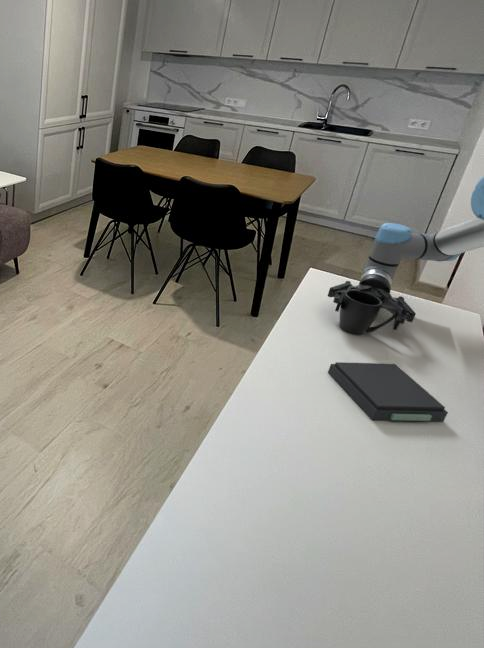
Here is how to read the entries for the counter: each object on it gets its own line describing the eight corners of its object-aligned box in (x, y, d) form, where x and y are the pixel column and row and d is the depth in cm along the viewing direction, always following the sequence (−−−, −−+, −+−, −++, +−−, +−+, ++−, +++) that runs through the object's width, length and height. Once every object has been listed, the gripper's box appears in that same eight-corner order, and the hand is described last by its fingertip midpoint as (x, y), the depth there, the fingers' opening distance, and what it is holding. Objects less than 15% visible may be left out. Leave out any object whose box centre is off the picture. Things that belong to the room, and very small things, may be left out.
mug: (387, 347, 123) (401, 314, 119) (332, 330, 129) (344, 298, 125) (386, 332, 129) (399, 301, 126) (334, 317, 135) (345, 286, 131)
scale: (445, 423, 99) (451, 410, 97) (373, 422, 98) (379, 409, 96) (390, 374, 113) (395, 362, 111) (327, 372, 112) (332, 360, 110)
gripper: (421, 313, 135) (419, 347, 119) (323, 283, 148) (309, 311, 132) (432, 289, 132) (431, 320, 116) (331, 261, 145) (317, 286, 129)
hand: (366, 315), depth 124 cm, fingers closed on mug, 12 cm apart
